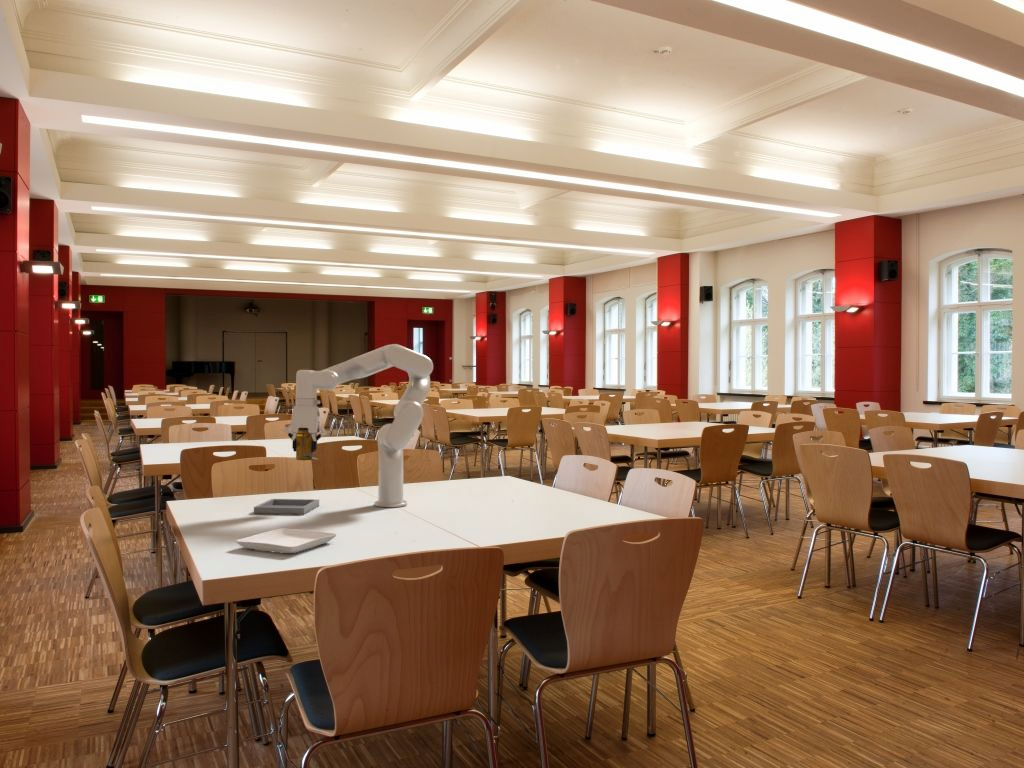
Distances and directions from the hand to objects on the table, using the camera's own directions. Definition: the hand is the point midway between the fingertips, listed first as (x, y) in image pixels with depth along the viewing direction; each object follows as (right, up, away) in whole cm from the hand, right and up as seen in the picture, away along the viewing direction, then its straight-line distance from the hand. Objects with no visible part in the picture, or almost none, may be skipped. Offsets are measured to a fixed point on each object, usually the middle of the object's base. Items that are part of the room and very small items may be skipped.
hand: (304, 450), depth 286 cm
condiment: (+1, -3, 0) cm, 3 cm away
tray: (-7, -22, +1) cm, 23 cm away
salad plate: (+10, -24, -58) cm, 64 cm away
